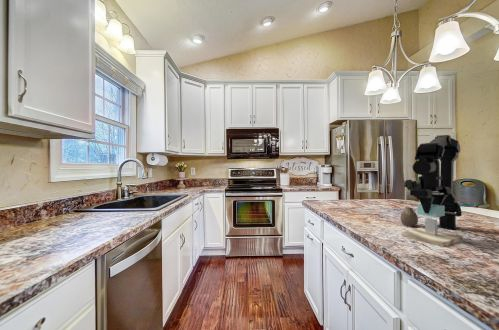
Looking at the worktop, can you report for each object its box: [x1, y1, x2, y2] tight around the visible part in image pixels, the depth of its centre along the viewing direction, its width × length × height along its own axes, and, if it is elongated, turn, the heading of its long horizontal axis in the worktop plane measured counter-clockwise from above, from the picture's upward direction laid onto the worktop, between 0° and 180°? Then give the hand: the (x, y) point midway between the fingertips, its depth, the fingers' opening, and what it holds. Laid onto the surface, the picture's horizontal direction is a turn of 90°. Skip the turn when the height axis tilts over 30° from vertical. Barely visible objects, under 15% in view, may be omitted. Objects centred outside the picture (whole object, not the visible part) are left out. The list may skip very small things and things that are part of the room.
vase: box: [400, 206, 419, 228], centre depth 105 cm, size 7×7×9 cm
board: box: [401, 226, 464, 248], centre depth 88 cm, size 15×14×2 cm
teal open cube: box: [416, 203, 445, 219], centre depth 88 cm, size 6×6×4 cm
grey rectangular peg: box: [424, 217, 438, 236], centre depth 88 cm, size 2×3×6 cm, turn 26°
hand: (430, 212), depth 88 cm, fingers closed on teal open cube, 6 cm apart
